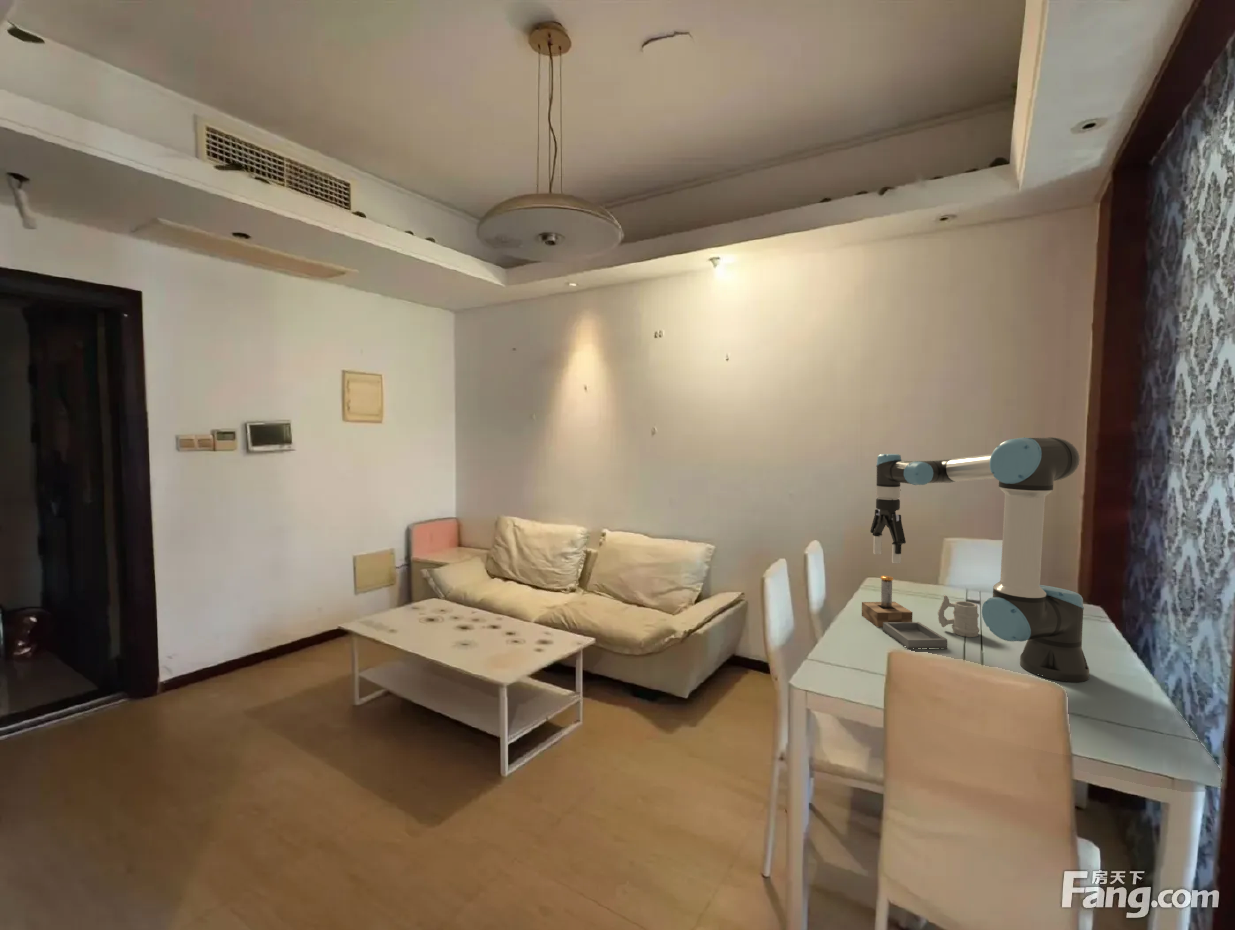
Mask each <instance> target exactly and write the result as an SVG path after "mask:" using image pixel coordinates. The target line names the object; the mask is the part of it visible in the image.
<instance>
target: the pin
mask: <svg viewBox="0 0 1235 930" xmlns="http://www.w3.org/2000/svg"><path fill="white" fill-rule="evenodd" d="M880 580H881V585H880V586H881V587H880V588H881V591H880V592H881V593H880V594H881V595H880V597H881V600H880V602H881V608H882V609H892V602H893V580H894V577H893V576H891V575H880Z"/></svg>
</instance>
